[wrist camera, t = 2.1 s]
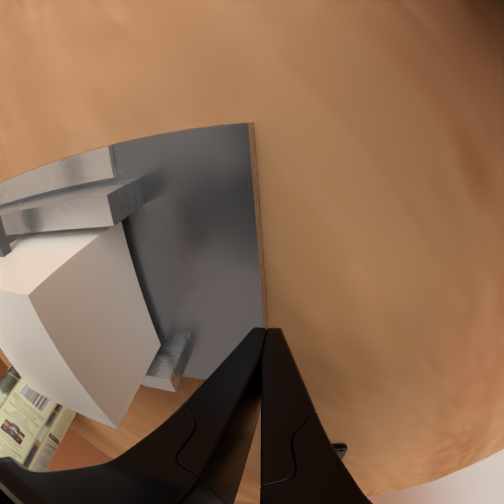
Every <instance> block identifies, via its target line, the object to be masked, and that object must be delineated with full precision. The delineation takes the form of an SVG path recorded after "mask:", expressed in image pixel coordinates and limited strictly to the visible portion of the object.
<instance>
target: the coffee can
mask: <svg viewBox="0 0 504 504" xmlns="http://www.w3.org/2000/svg"><path fill="white" fill-rule="evenodd" d="M76 414H77V412H75V411H72V410H70V409H68V408H66V407H64V406H62V405H60V404H58V403H56V402H54V401H52V400H50V399H48V398H47V397H45V396H43V395H41V394H39V393H38V392H36V391H34V390H32V389H31V388H30V387H29V386H28V385H27V384H26V382H25V381H24V380H23V379H22V377H21V376H20V375H19V373H18V372H17V371H16V369H15V368H14V367H13V365H12V364H11V366H10V367H9V368H8V369H7V371H6V372H5V374H4V375H3V376H2V378H1V379H0V458H1V457H7V456H10V457H12V458H13V459H15V460H16V461H18V462H19V463H21V464H22V465H23V466H25V467H26V468H28V469H29V470H31V471H33V472H46V470H47V468H48V466H49V464H50V462H51V460H52V458H53V456H54V454H55V452H56V450H57V448H58V446H59V444H60V442H61V441H62V439H63V437H64V435H65V433H66V431H67V429H68V428H69V426H70V424H71V422H72V421H73V419H74V417H75V415H76Z"/></svg>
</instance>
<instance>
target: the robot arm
mask: <svg viewBox="0 0 504 504" xmlns="http://www.w3.org/2000/svg"><path fill="white" fill-rule="evenodd" d="M260 409H261V489H260V504H373V503H372V502H371V501H370V500H369V499H368V498H367V497H366V496H365V495H364V493H363V492H362V491H361V489H360V488H359V487H358V485H357V484H356V482H355V481H354V479H353V478H352V476H351V474H350V473H349V471H348V470H347V468H346V467H345V465H344V464H343V462H342V458H343V457H344V455H345V453H346V451H347V445H332V444H331V442H330V440H329V439H328V437H327V435H326V432H325V430H324V428H323V426H322V424H321V422H320V419H319V417H318V415H317V413H316V410H315V408H314V405H313V403H312V401H311V398H310V396H309V394H308V391H307V389H306V386H305V384H304V382H303V379H302V377H301V374H300V372H299V370H298V367H297V365H296V363H295V360H294V358H293V355H292V353H291V351H290V348H289V346H288V343H287V341H286V339H285V336H284V334H283V331H282V329H281V328H268V329H267V328H264V327H254V328H253V329H252V330H251V331H250V332H249V333H248V334H247V335H246V336H245V338H244V339H243V340H242V341H241V342H240V343H239V344H238V346H237V347H236V348H235V349H234V350H233V351H232V352H231V353H230V354H229V356H228V357H227V358H226V359H225V360H224V361H223V362H222V363H221V364H220V365H219V367H218V368H217V369H216V370H215V371H214V372H213V373H212V374H211V375H210V376H209V377H208V378H207V380H206V381H205V382H204V383H203V384H202V385H201V386H200V387H199V388H198V389H197V390H196V391H195V392H194V393H193V394H192V395H191V396H190V398H189V399H188V400H187V402H185V403H184V404H183V405H182V406H181V407H180V408H179V409H178V410H177V411H176V412H175V413H174V414H173V415H172V416H170V417H169V418H168V419H167V420H166V421H165V422H164V423H163V424H161V425H160V426H159V427H158V428H157V429H155V430H154V431H153V432H152V433H150V434H149V435H148V436H146V437H145V438H144V439H142V440H141V441H140V442H138V443H137V444H136V445H134V446H133V447H131V448H130V449H129V450H127V451H126V452H125V453H123V454H122V455H120V456H119V457H117V458H115V459H113V460H112V461H109V462H107V463H104V464H100V465H96V466H90V467H84V468H77V469H71V470H70V469H69V470H61V471H52V472H33V471H31V470H29V469H28V468H26V467H25V466H23V465H22V464H21V463H19V462H18V461H16V460H15V459H13V458H12V457H10V456H7V457H1V458H0V504H234V501H235V498H236V494H237V491H238V488H239V485H240V481H241V478H242V474H243V471H244V468H245V464H246V461H247V457H248V454H249V450H250V446H251V443H252V439H253V435H254V432H255V428H256V424H257V420H258V417H259V413H260Z"/></svg>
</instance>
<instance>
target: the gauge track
mask: <svg viewBox="0 0 504 504" xmlns="http://www.w3.org/2000/svg"><path fill="white" fill-rule="evenodd" d="M0 216H1V220H2V223H3V226H4V230H5V233H6V236H7V239H8V242H9V244H10V243H12V242H13V241H15V240H16V239H18V238H19V237H21V236H22V235H24V234H25V233H34V232H44V231H56V230H67V229H80V228H93V227H108V226H115V225H116V224H118V223H119V222H120V221H121V222H122V226H123V230H124V234H125V238H126V242H127V245H128V249H129V253H130V256H131V260H132V263H133V266H134V270H135V273H136V276H137V279H138V283H139V286H140V289H141V292H142V295H143V298H144V301H145V304H146V306H147V309H148V312H149V315H150V318H151V320H152V323H153V326H154V328H155V331H156V334H157V336H158V339H159V341H160V344H161V346H160V348H159V350H158V352H157V354H156V355H155V357H154V359H153V361H152V363H151V365H150V367H149V369H148V371H147V373H146V375H145V377H144V378H143V380H142V382H141V384H140V385H143V386H148V387H152V388H157V389H161V390H166V391H172V392H176V390H177V388H178V385H179V383H180V381H181V378H182V376H183V377H189V378H196V379H203V380H207V378H208V377H209V376H210V375H211V374H212V373H213V372H214V371H215V370H216V369H217V368H218V367H219V365H220V364H221V363H222V362H223V361H224V360H225V359H226V358H227V357H228V356H229V354H230V353H231V352H232V351H233V350H234V349H235V348H236V347H237V346H238V344H239V343H240V342H241V341H242V340H243V339H244V338H245V336H246V335H247V334H248V333H249V332H250V331H251V330H252V329H253V328H254V327H264V328H267V329H268V320H267V303H266V287H265V272H264V257H263V242H262V228H261V213H260V200H259V186H258V173H257V160H256V147H255V134H254V122H252V123H240V124H229V125H220V126H211V127H203V128H196V129H189V130H182V131H176V132H170V133H165V134H159V135H154V136H149V137H144V138H139V139H135V140H130V141H126V142H121V143H117V144H113V145H109V146H105V147H102V148H98V149H94V150H91V151H87V152H84V153H80V154H77V155H74V156H70V157H67V158H64V159H61V160H58V161H55V162H52V163H49V164H47V165H44V166H41V167H38V168H36V169H33V170H30V171H28V172H25V173H23V174H20V175H18V176H15V177H13V178H11V179H8V180H6V181H4V182H1V183H0Z"/></svg>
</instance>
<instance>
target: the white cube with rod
mask: <svg viewBox="0 0 504 504" xmlns="http://www.w3.org/2000/svg"><path fill="white" fill-rule="evenodd" d="M160 346H161V344H160V341H159V339H158V336H157V334H156V331H155V328H154V326H153V323H152V320H151V318H150V315H149V312H148V309H147V306H146V304H145V301H144V298H143V295H142V292H141V289H140V286H139V283H138V279H137V276H136V273H135V270H134V266H133V263H132V260H131V256H130V253H129V249H128V245H127V242H126V238H125V234H124V230H123V226H122V222H121V221H120V222H119V223H118V224H116V225H115V226H108V227H93V228H80V229H67V230H56V231H44V232H34V233H25V234H24V235H22V236H21V237H19V238H18V239H16V240H15V241H13V242H12V243H10V244H9V242H8V239H7V236H6V233H5V230H4V226H3V223H2V220H1V216H0V348H1V349H2V351H3V352H4V354H5V355H6V357H7V358H8V360H9V361H10V362H11V364H12V365H13V367H14V368H15V369H16V371H17V372H18V373H19V375H20V376H21V377H22V379H23V380H24V381H25V382H26V384H27V385H28V386H29V387H30V388H31V389H32V390H34V391H36V392H38V393H39V394H41V395H43V396H45V397H47V398H48V399H50V400H52V401H54V402H56V403H58V404H60V405H62V406H64V407H66V408H68V409H70V410H72V411H75V412H77V413H79V414H81V415H83V416H86V417H88V418H90V419H93V420H95V421H98V422H100V423H103V424H105V425H108V426H110V427H113V428H116V429H119V427H120V424H121V422H122V420H123V418H124V416H125V414H126V412H127V410H128V408H129V406H130V404H131V402H132V400H133V398H134V396H135V394H136V392H137V390H138V388H139V386H140V384H141V382H142V380H143V378H144V377H145V375H146V373H147V371H148V369H149V367H150V365H151V363H152V361H153V359H154V357H155V355H156V354H157V352H158V350H159V348H160Z"/></svg>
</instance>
